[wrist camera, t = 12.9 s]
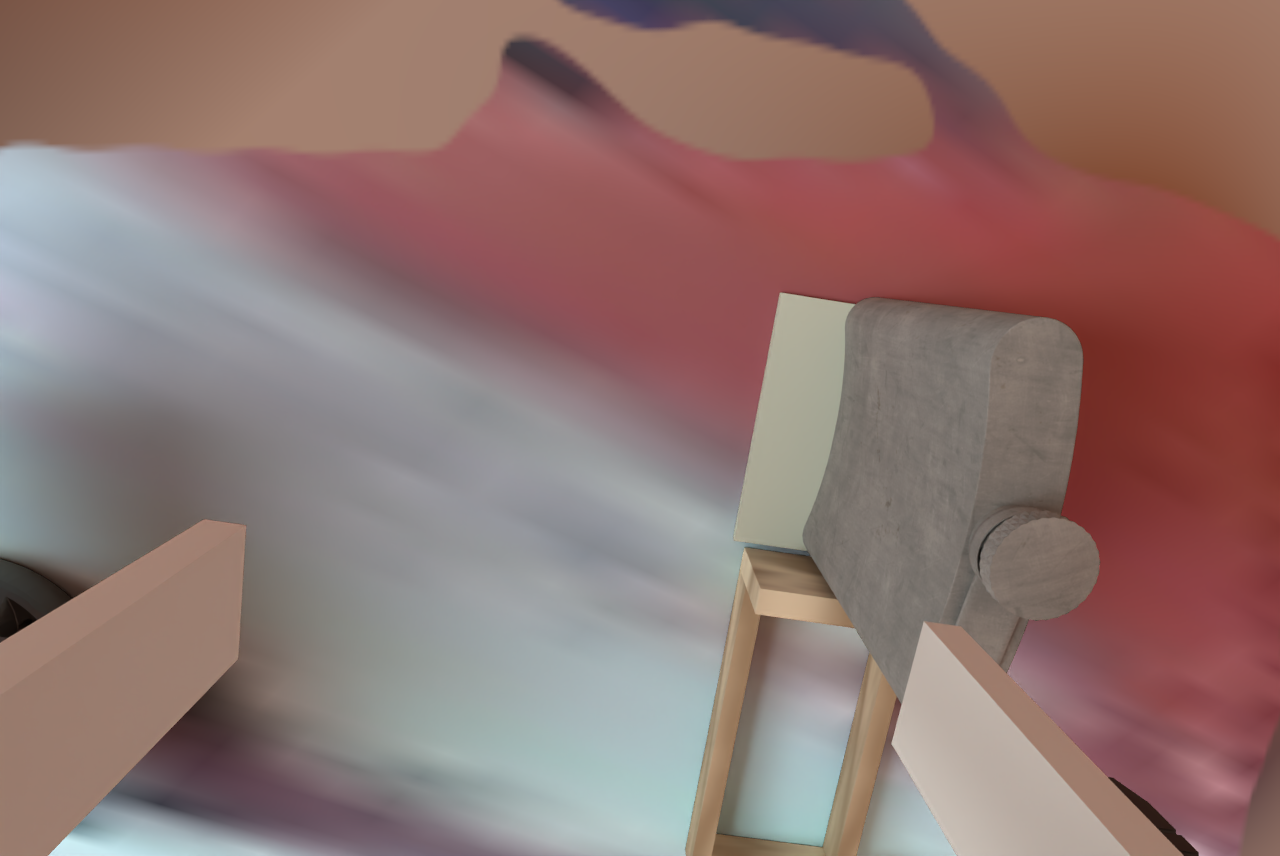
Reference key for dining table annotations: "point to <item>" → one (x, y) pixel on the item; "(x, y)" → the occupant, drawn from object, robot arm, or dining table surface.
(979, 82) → the dining table surface
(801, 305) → the mat
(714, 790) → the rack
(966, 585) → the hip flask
